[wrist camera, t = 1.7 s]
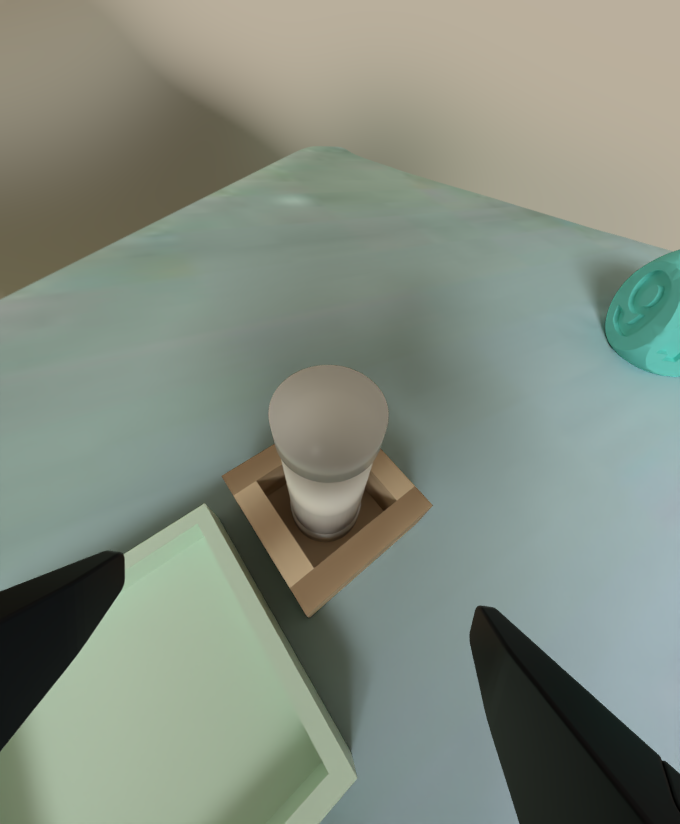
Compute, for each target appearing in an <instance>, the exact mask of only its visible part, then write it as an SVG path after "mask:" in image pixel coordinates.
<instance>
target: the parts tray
mask: <svg viewBox="0 0 680 824" xmlns="http://www.w3.org/2000/svg"><path fill="white" fill-rule="evenodd" d="M124 557H125V583H124V586H123V588H122V590H121V592H120V594H119V595H118V597H117V598H116V600H115V601H114V602H113V604H112V605H111V607H110V608H109V610H108V611H107V613H106V614H105V616H104V617H103V619H102V620H101V622H100V623H99V625H98V626H97V628H96V629H95V630H94V632H93V633H92V635H91V636H90V638H89V639H88V641H87V642H86V644H85V645H84V647H83V648H82V649H81V651H80V652H79V653H78V655H77V656H76V657H75V659H74V660H73V661H72V663H71V664H70V665H69V666H68V668H67V669H66V670H65V671H64V673H63V674H62V675H61V676H60V678H59V679H58V680H57V681H56V683H55V684H54V685H53V686H52V688H51V689H50V690H49V691H48V693H47V694H46V695H45V697H44V698H43V699H42V700H41V702H40V703H39V704H38V705H37V707H36V708H35V709H34V710H33V712H32V713H31V714H30V715H29V717H28V718H27V719H26V720H25V722H24V723H23V724H22V725H21V727H20V728H19V729H18V730H17V732H16V733H15V734H14V735H13V737H12V738H11V739H10V740H9V742H8V743H7V744H6V745H5V747H4V748H3V749H2V750H1V752H0V824H319V823H320V822H321V821H322V819H323V818H324V817H325V816H326V815H327V814H328V812H329V811H330V810H331V809H332V808H333V806H334V805H335V804H336V803H337V802H338V801H339V799H340V798H341V797H342V796H343V795H344V793H345V792H346V791H347V790H348V789H349V788H350V786H351V785H352V784H353V783H354V782H355V780H356V779H357V774H356V770H355V766H354V762H353V757H352V753H351V751H350V750H349V748H348V746H347V744H346V743H345V741H344V739H343V737H342V735H341V734H340V732H339V730H338V728H337V727H336V725H335V723H334V721H333V720H332V718H331V716H330V714H329V712H328V711H327V709H326V707H325V705H324V704H323V702H322V700H321V698H320V697H319V695H318V693H317V691H316V689H315V688H314V686H313V684H312V682H311V681H310V679H309V677H308V675H307V673H306V672H305V670H304V668H303V666H302V665H301V663H300V661H299V659H298V658H297V656H296V654H295V652H294V650H293V649H292V647H291V645H290V643H289V642H288V640H287V638H286V636H285V634H284V633H283V631H282V629H281V627H280V626H279V624H278V622H277V620H276V619H275V617H274V615H273V613H272V611H271V610H270V608H269V606H268V604H267V603H266V601H265V599H264V597H263V595H262V594H261V592H260V590H259V588H258V587H257V585H256V583H255V581H254V580H253V578H252V576H251V574H250V572H249V571H248V569H247V567H246V565H245V564H244V562H243V560H242V558H241V557H240V555H239V553H238V551H237V549H236V548H235V546H234V544H233V542H232V541H231V539H230V537H229V535H228V533H227V532H226V530H225V528H224V526H223V525H222V523H221V521H220V519H219V518H218V517H217V516H216V515H215V514H214V512H213V511H212V510H211V509H210V508H209V507H208V506H207V505H206V504H205V503H204V504H203V505H201V506H200V507H198V508H196V509H195V510H193V511H192V512H190V513H188V514H187V515H185V516H184V517H182V518H181V519H179V520H177V521H176V522H174V523H173V524H171V525H169V526H168V527H166V528H165V529H163V530H161V531H160V532H158V533H157V534H155V535H153V536H152V537H150V538H149V539H147V540H146V541H144V542H142V543H141V544H139V545H138V546H136V547H134V548H133V549H131V550H130V551H128V552H126V553H125V554H124Z"/></svg>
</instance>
